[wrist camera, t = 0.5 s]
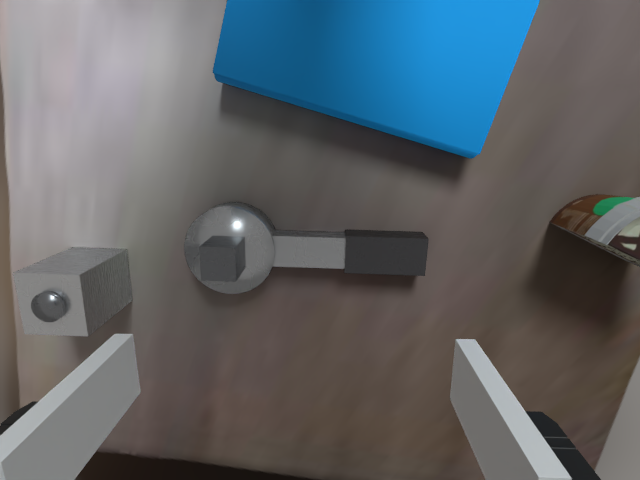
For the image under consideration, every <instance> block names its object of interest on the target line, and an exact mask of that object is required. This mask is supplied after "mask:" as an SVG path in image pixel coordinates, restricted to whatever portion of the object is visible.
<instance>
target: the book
mask: <svg viewBox="0 0 640 480" xmlns="http://www.w3.org/2000/svg"><path fill="white" fill-rule="evenodd" d="M539 1H540V0H227V4H226V9H225V14H224V19H223V24H222V29H221V34H220V39H219V43H218V48H217V53H216V58H215V63H214V68H213V73H214V75H215V78H216V80H217V81H218V82H222V83H225V84H228V85H232V86H235V87H238V88H241V89H245V90H248V91H251V92H254V93H258V94H261V95H264V96H267V97H271V98H274V99H277V100H281V101H284V102H287V103H290V104H294V105H297V106H300V107H303V108H307V109H310V110H313V111H317V112H320V113H323V114H326V115H330V116H333V117H336V118H339V119H343V120H346V121H349V122H353V123H356V124H359V125H362V126H366V127H369V128H372V129H375V130H379V131H382V132H385V133H389V134H392V135H395V136H398V137H402V138H405V139H408V140H411V141H415V142H418V143H421V144H424V145H428V146H431V147H434V148H438V149H441V150H444V151H447V152H451V153H454V154H457V155H460V156H464V157H467V158H474V157H475V156H476V155H478V154H480V152H481V150H482V147H483V145H484V142H485V139H486V137H487V134H488V132H489V129H490V127H491V124H492V122H493V119H494V116H495V114H496V111H497V109H498V106H499V104H500V101H501V99H502V96H503V93H504V91H505V88H506V86H507V83H508V81H509V78H510V76H511V73H512V70H513V68H514V65H515V63H516V60H517V58H518V55H519V53H520V50H521V47H522V45H523V42H524V40H525V37H526V35H527V32H528V30H529V27H530V24H531V22H532V19H533V17H534V14H535V12H536V9H537V7H538V4H539Z"/></svg>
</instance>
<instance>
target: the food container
mask: <svg viewBox="0 0 640 480" xmlns="http://www.w3.org/2000/svg"><path fill="white" fill-rule="evenodd" d="M549 223H551V224H553V225H555V226H557V227H559V228H561V229H563V230H565V231H567V232H569V233H571V234H573V235H575V236H577V237H579V238H581V239H583V240H585V241H587V242H589V243H591V244H593V245H595V246H597V247H599V248H601V249H603V250H605V251H607V252H609V253H611V254H613V255H615V256H617V257H619V258H621V259H623V260H625V261H628V262H630V263H632V264H634V265H637V266H639V267H640V197H638V198H629V197H620V196H611V195H598V194H596V195H588V196H584V197H581V198H579V199H576V200H574V201H572V202H570V203H569V204H567V205H566V206H564V207H563V208H562V209H560V210H559V211H558V212H557V213H556V214H555V216H554V217H553V218H552V220H551V221H550V222H549Z"/></svg>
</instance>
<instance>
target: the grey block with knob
mask: <svg viewBox="0 0 640 480" xmlns="http://www.w3.org/2000/svg"><path fill="white" fill-rule="evenodd" d="M13 276H14V281H15V287H16V292H17V297H18V303H19V308H20V313H21V318H22V324H23V329H24V334H37V335H63V336H89V335H91V334H92V333H93V332H94V331H95V330H97V329H98V328H99V327H100V326H102V325H103V324H104V323H105V322H107V321H108V320H109V319H110V318H111V317H113V316H114V315H115V314H116V313H118V312H119V311H120V310H121V309H122V308H124V307H125V306H126V305H127V304H129V303H130V302H131V301H132V293H131V283H130V274H129V265H128V256H127V249H110V248H79V247H72V248H70V249H67V250H65V251H63V252H60V253H58V254H56V255H53V256H51V257H49V258H46V259H44V260H42V261H39V262H37V263H34V264H32V265H30V266H27V267H25V268H23V269H20V270H18V271H16V272H13Z"/></svg>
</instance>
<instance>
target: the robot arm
mask: <svg viewBox="0 0 640 480" xmlns="http://www.w3.org/2000/svg"><path fill="white" fill-rule="evenodd" d="M140 393H141V390H140V383H139V375H138V368H137V360H136V353H135V345H134V338H133V334H114V335H113V336H112V337H111V338H109V339H108V340H107V341H106V342H105V343H104V344H103V345H102V346H100V347H99V348H98V349H97V350H96V351H95V352H94V353H93V354H91V355H90V356H89V357H88V358H87V359H86V360H85V361H84V362H82V363H81V364H80V365H79V366H78V367H77V368H76V369H75V370H73V371H72V372H71V373H70V374H69V375H68V376H67V377H66V378H64V379H63V380H62V381H61V382H60V383H59V384H58V385H57V386H55V387H54V388H53V389H52V390H51V391H50V392H49V393H48V394H46V395H45V396H44V397H43V398H42V399H41V400H40V401H39V402H31V403H30V404H28V405H26V406H24V407H23V408H21V409H19V410H17V411H16V412H14V413H13V414H12V415H11V416H9V417H8V418H7V419H6V420H5V421H4V422H2V423H1V426H0V480H74V479H75V478H76V476H77V475H78V474H79V473H80V471H81V470H82V469H83V467H84V466H85V465H86V464H87V462H88V461H89V460H90V458H91V457H92V456H93V454H94V453H95V452H96V450H97V449H98V448H99V447H100V445H101V444H102V443H103V441H104V440H105V439H106V437H107V436H108V435H109V433H110V432H111V431H112V430H113V428H114V427H115V426H116V424H117V423H118V422H119V420H120V419H121V418H122V416H123V415H124V414H125V412H126V411H127V410H128V409H129V407H130V406H131V405H132V403H133V402H134V401H135V399H136V398H137V397H138V395H139V394H140ZM450 400H451V402H452V404H453V407H454V409H455V411H456V414H457V416H458V418H459V420H460V423H461V425H462V427H463V429H464V432H465V434H466V436H467V438H468V441H469V443H470V445H471V447H472V450H473V452H474V454H475V456H476V459H477V461H478V463H479V466H480V468H481V470H482V472H483V475H484V477H485V479H486V480H601V479H600V478H599V477H598V476H597V474H596V473H595V471H594V470H593V469H592V468H591V466H590V465H589V464H588V463H587V461H586V460H585V459H584V457H583V456H582V455H581V454H580V452H579V451H578V450H576V448H575V446H574V445H573V443H572V442H571V441H570V439H567V436H566V434H565V433H564V432H563V430H562V429H561V428H560V427H559V425H558V424H557V423H556V422H555V421H553V420H552V419H551V418H549V417H548V416H547V415H545V414H544V413H542V412H528V411H525V410H524V409H523V408H522V406H521V405H520V403H519V402H518V400H517V399H516V398H515V396H514V395H513V393H512V392H511V390H510V389H509V387H508V386H507V385H506V383H505V382H504V380H503V379H502V377H501V376H500V375H499V373H498V372H497V370H496V369H495V367H494V366H493V365H492V363H491V362H490V360H489V359H488V357H487V356H486V354H485V353H484V352H483V350H482V349H481V347H480V346H479V344H478V343H477V342H476V340H475V339H456V340H455V351H454V362H453V372H452V383H451V394H450Z"/></svg>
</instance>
